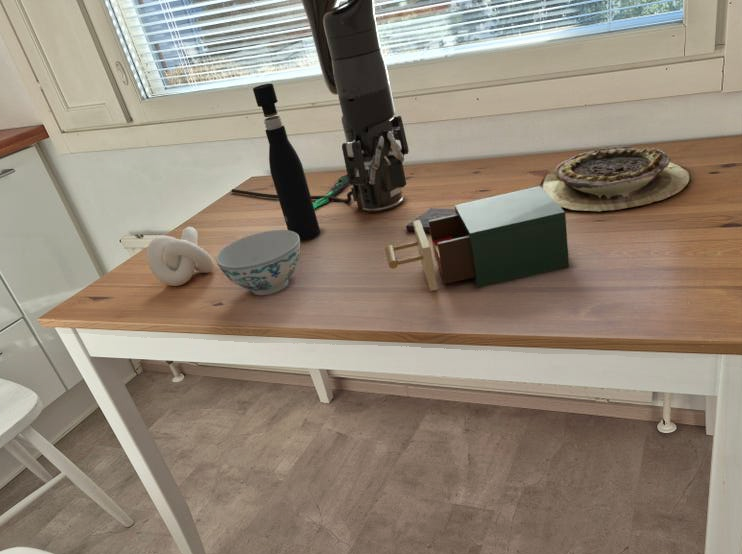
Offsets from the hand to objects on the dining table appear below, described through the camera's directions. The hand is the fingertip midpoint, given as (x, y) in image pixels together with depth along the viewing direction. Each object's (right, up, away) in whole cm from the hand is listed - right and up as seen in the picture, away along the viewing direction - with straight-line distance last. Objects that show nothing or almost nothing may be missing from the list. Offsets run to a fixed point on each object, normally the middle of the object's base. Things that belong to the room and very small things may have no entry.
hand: (386, 197), depth 104 cm
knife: (-14, +15, +59) cm, 62 cm away
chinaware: (-21, -12, +18) cm, 31 cm away
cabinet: (+21, -9, +8) cm, 24 cm away
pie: (+43, +9, +27) cm, 52 cm away
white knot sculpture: (-40, -8, +31) cm, 51 cm away
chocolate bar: (+13, +1, +26) cm, 29 cm away
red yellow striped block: (+10, -9, +7) cm, 15 cm away
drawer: (+10, -10, +7) cm, 16 cm away
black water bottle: (-18, +1, +38) cm, 42 cm away
